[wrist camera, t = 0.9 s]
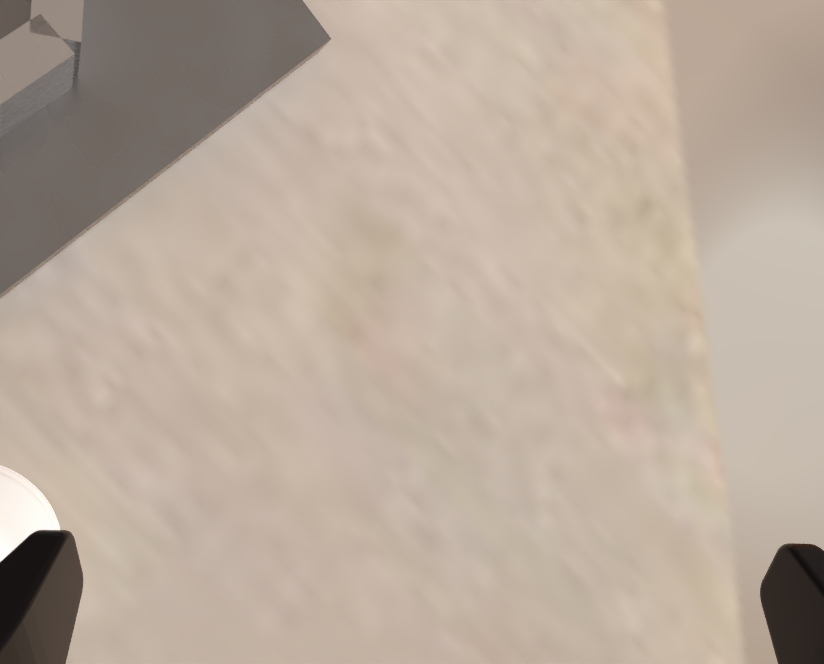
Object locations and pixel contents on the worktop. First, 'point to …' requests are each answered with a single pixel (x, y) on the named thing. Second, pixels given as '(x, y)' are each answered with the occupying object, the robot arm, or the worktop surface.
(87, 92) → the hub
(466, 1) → the worktop surface
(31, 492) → the chess piece
